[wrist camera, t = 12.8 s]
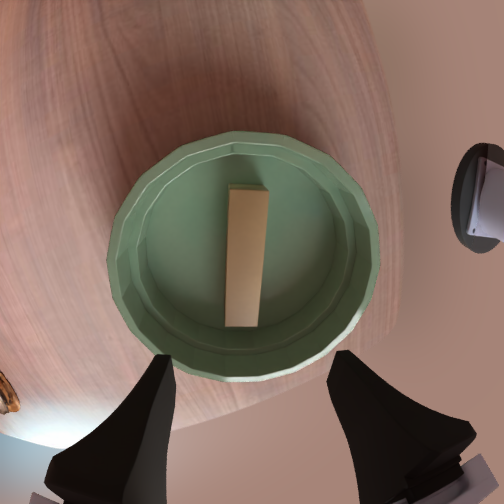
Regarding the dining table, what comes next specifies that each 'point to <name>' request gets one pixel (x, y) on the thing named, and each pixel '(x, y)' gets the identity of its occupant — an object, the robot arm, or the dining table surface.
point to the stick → (244, 253)
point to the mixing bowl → (214, 251)
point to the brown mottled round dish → (7, 397)
